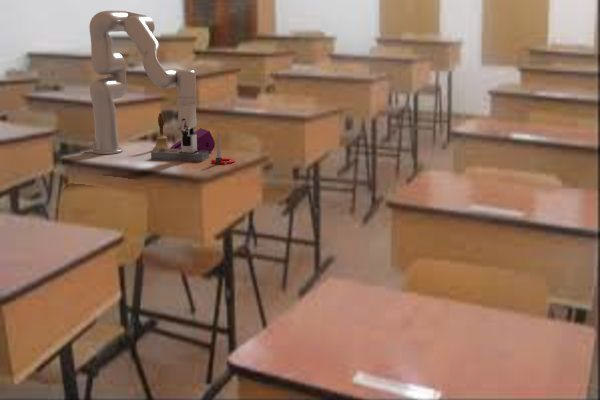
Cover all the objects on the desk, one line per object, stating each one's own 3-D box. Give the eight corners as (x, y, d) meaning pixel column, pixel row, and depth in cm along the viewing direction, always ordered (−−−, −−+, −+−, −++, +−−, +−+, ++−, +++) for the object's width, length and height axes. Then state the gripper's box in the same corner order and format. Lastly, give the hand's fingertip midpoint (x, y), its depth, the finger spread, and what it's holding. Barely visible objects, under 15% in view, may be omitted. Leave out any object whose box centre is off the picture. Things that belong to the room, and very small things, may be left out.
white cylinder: (181, 152, 308) (180, 135, 307) (185, 150, 313) (185, 133, 311) (193, 152, 307) (192, 135, 306) (197, 150, 312) (196, 133, 310)
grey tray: (151, 159, 310) (150, 152, 309) (159, 155, 318) (159, 148, 317) (202, 161, 305) (201, 154, 305) (209, 157, 314) (208, 150, 313)
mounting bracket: (183, 169, 320) (217, 147, 326) (174, 152, 316) (209, 131, 322) (175, 165, 328) (208, 144, 334) (166, 148, 324) (200, 128, 330)
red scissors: (222, 160, 311) (209, 163, 303) (222, 129, 308) (209, 131, 300) (239, 162, 307) (226, 165, 299) (239, 131, 304) (226, 133, 296)
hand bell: (149, 150, 329) (147, 114, 325) (158, 147, 337) (156, 111, 333) (166, 151, 327) (165, 115, 323) (175, 148, 334) (173, 112, 330)
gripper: (185, 98, 314) (187, 140, 318) (171, 103, 298) (172, 148, 302) (202, 98, 312) (204, 141, 317) (188, 103, 296) (190, 148, 301)
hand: (188, 144), depth 309 cm, fingers closed on white cylinder, 5 cm apart
